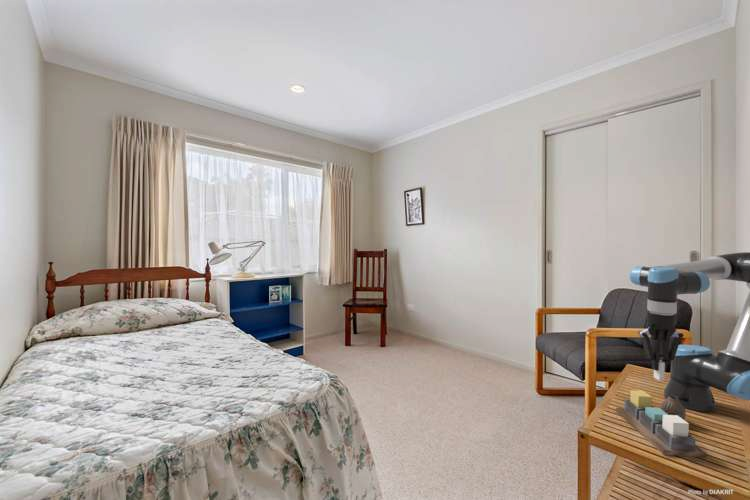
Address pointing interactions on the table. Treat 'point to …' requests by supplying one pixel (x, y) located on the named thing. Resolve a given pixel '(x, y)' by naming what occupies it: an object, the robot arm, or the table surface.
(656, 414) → the plunger teal
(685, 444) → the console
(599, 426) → the table surface
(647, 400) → the plunger ochre
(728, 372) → the robot arm
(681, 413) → the vase
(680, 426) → the plunger cream
